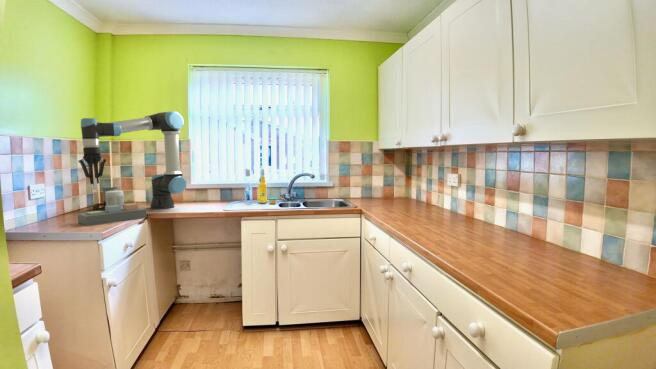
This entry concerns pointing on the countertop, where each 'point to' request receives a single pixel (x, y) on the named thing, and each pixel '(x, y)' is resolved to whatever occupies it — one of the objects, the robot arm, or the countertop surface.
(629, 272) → the countertop surface
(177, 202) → the countertop surface
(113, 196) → the supplement tub
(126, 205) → the terracotta button
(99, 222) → the console
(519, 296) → the countertop surface
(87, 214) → the green button
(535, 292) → the countertop surface
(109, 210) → the slate button
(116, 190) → the milk frother
